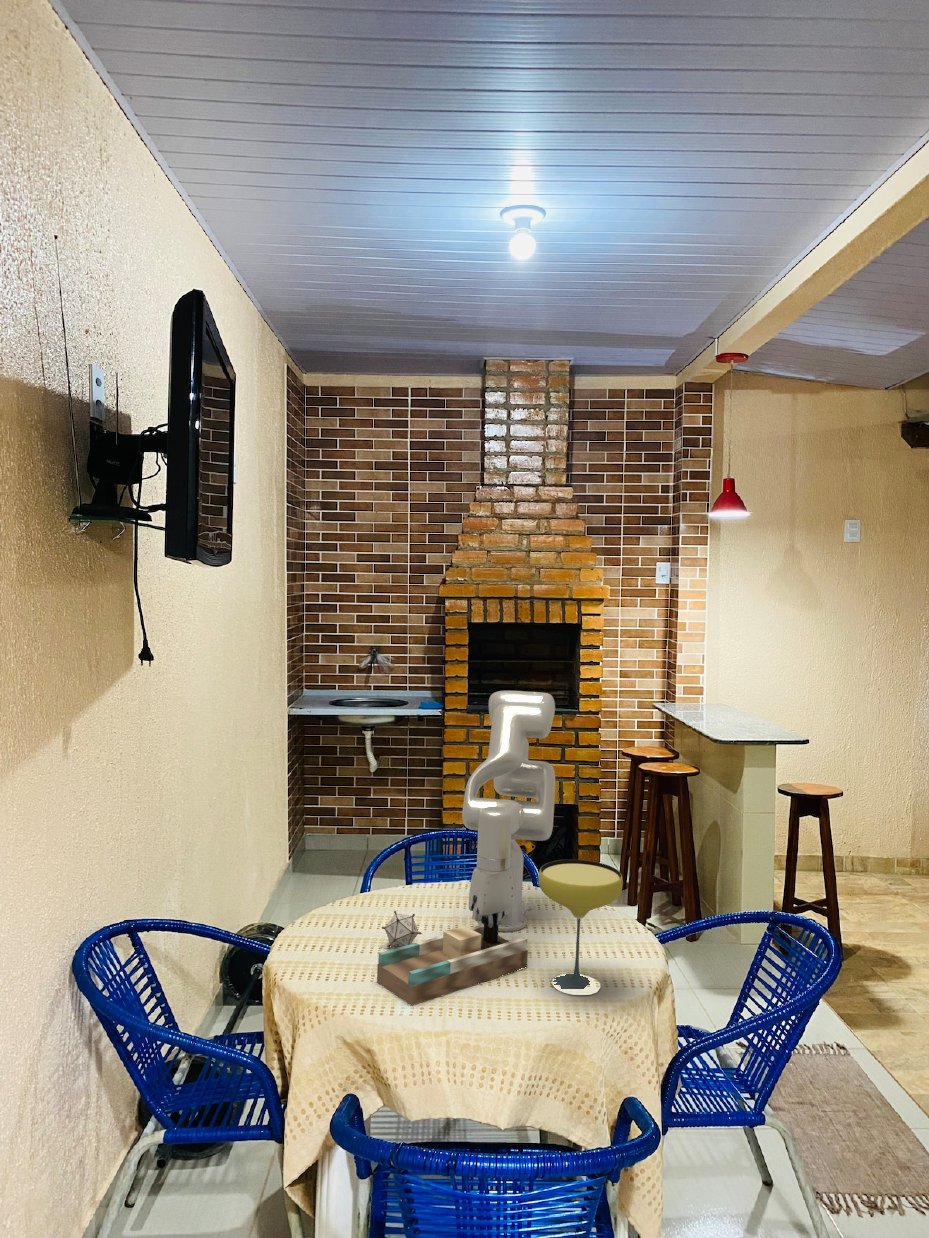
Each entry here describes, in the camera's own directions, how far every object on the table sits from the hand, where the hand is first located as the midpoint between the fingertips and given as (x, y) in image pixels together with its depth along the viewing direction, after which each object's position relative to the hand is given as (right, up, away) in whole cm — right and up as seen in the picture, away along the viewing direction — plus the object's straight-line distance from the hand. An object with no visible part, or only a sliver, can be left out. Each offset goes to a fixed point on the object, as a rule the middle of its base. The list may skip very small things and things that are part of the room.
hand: (490, 941), depth 209 cm
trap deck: (-8, -5, -6) cm, 12 cm away
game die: (-21, -4, +8) cm, 23 cm away
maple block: (-7, -1, -5) cm, 8 cm away
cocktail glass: (+18, -6, -9) cm, 22 cm away
